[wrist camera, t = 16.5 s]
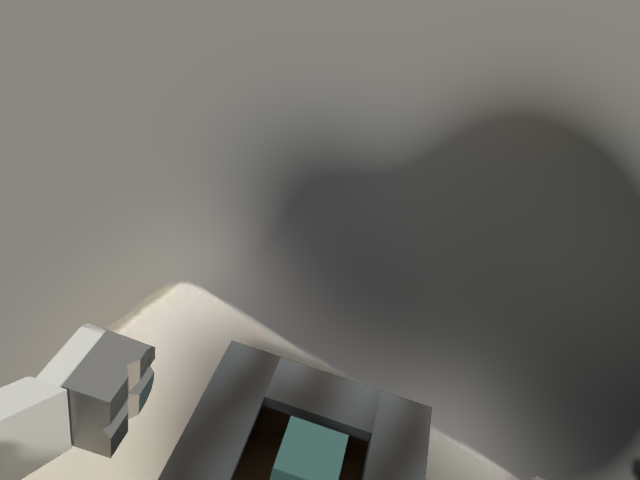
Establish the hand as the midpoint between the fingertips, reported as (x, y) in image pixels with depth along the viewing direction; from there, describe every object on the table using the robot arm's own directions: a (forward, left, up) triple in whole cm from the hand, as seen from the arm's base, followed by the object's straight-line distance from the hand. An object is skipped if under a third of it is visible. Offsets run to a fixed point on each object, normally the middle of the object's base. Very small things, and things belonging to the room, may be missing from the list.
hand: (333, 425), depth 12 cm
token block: (0, -14, -31) cm, 34 cm away
